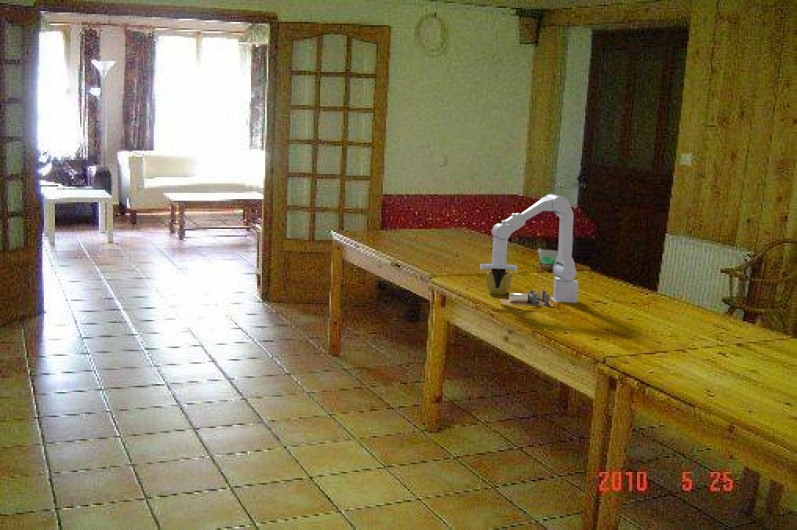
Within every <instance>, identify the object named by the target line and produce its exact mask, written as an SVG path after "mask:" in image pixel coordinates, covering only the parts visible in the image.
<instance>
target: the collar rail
mask: <svg viewBox="0 0 797 530" xmlns="http://www.w3.org/2000/svg"><path fill="white" fill-rule="evenodd" d="M535 291H536V293H535ZM528 292H529V293H528V294H532V303H531V305H533V307H535V306H536V307H537V306H538V304H537V303H536V300H537V294H539V289H536V290H534V289H529V291H528ZM540 301H542V302H544V306H542V305H541V304H539V305H540V306H539V307H552V306H551V305H550V304H549V301H550V294H549V293H547V290H545V289H544V290H543V289H542V290H541V295H540ZM531 305H530V306H531Z"/></svg>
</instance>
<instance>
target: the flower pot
mask: <svg viewBox="0 0 797 530" xmlns="http://www.w3.org/2000/svg"><path fill="white" fill-rule="evenodd" d="M513 274H514V273H513V272H509V271H506V273H505V275H504V277H503V278H502V281H501V283H500V287H499V288H495V281H494V277H493V274H492V271H488V272H487V273H486V275H485V276H486V277H485V278H486V285H487V290H488V292H489V293H490V294H494V295H502V296H503V295H504V294H507V293H508V291H509V289H510V287H511V285H512V284H511V283H512V280H513V279H512V278H513Z"/></svg>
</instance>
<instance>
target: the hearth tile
mask: <svg viewBox="0 0 797 530" xmlns="http://www.w3.org/2000/svg"><path fill="white" fill-rule="evenodd" d="M499 300H500V301H501V304H502V305H507V306H508V305H509V306H533V305H531V303H519V302H509V298H499ZM537 304H538V306H539V307H545V306H544V302H542V301H540V303H537ZM539 304H541V305H542V306H540V305H539ZM549 304H550V305H551V306H550V307H554V305H553V303H552V302H550V300H549ZM533 307H534V306H533Z"/></svg>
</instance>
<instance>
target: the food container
mask: <svg viewBox="0 0 797 530" xmlns="http://www.w3.org/2000/svg"><path fill="white" fill-rule="evenodd" d="M537 253H538V257H539V258H538V260H539V261H538V264H539V266H538V267H540V268H542V269H548V270H553V266H554V264H555V259H556V258H557V256H558V250H553V249H543V248H538V249H537ZM540 268H539V269H540ZM542 269H541V270H542Z"/></svg>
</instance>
